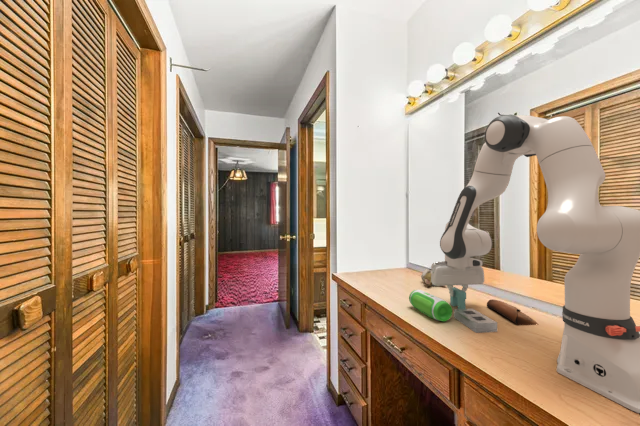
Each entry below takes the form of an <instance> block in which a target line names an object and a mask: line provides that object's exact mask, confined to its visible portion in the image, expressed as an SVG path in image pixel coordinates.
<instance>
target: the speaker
mask: <svg viewBox="0 0 640 426" xmlns="http://www.w3.org/2000/svg"><path fill="white" fill-rule="evenodd" d="M408 299H409V300H408V301H409V303H410V304H411V306H413V308H414V309H416V310H418V312H421V314H424V315H425V316H426V317H429V318H430V319H434V320H436V321H439V322H447V321H449V320H450V319H451V317H452V316H453V308H452V307H453V306H452V305H450V303H449V302H447V300H444V299H443V298H440V297H438V296H436V295H434V294H432V293H428V292H427V291H424V290H422V289H413V290H412V291H411V292H410V294H409V296H408Z"/></svg>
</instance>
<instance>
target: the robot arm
mask: <svg viewBox="0 0 640 426" xmlns="http://www.w3.org/2000/svg"><path fill="white" fill-rule="evenodd" d="M522 156H525V157H526V158H530V157H535V156H536V158H537V163H538V164H539V167H540V170H541V173H542V176H543V179H544V182H545V185H546V189H547V197H548V198H547V207H546V209H545V211H544V213H543V214H542V215H541V216H540V218H539V219H538V221H537V224H536V234H537V237H538V239H539V241H540V243H541V244H542V245H543V246H544V247H545V248H547V249H548V250H550V251H555V252H561V253H565V254H566V253H567V254H572V255H579V256H578V258H577V260H576V262H575V264H574V266H572V267H571V268H570V269H569V270H568V271H567V272H566V274H565V275H564V280H563V281H564V304H563V306H562V311H561V315H562V321H563V323H564V327H563V332H562V337H561V345H560V351H559V354H558V357H557V359H556V362H557V365H556V369H555V370H556V372H557V373H558V374H560V375H562V376H564V377H566V378H568V379H570V380H571V381H574V382H576V383H577V384H579V385H581V386H583V387H585V388H588V390H592V391H594V392H595V393H596V394H597V393H598V394H600V395H601V396H604V397H605V398H607V399H608V400H611V401H612V402H614V403H617V404H618V405H621V406H623V407H625V408H627V409H629V410H630V411H632V412H634V413H637V414H640V325H639V326H638V325H636V323H635V321H634V319H633V317H632V316H631V285H632V279H633V274H634V271H635V269H636V266H637V264H638V262H639V259H640V209H636V208H632V207H629V206H622V205H601V204H600V200H599V188H600V187H601V186H602V184H604V183H605V180H606V172H605V170H604V167H603V166H602V163H601V161H600V158H599V156H598V154H597V151H596V150H595V147H594V145H593V143H592V142H591V139H590V138H589V136H588V134H587V132H586V131H585V129H583V127H582V125H581V124H580V123H579V122H578V120H576V119H575V118H574V117H572V116H571V117H570V116H568V115H567V116H565V115H564V116H563V115H561V116H555V117H552V118H544V117H540V116H539V117H538V116H533V115H527V114H525V115H524V114H522V115H520V114H519V115H518V114H516V115H514V114H504V115H499V116H496V117H494V118H493V119H492V120H491V121H490V122H489V123H488V125H487V127H486V129H485V131H484V143H483V145H482V146H481V149H480V151H479V152H478V155H477V158H476V162H475V163H474V164H475V165H474V170H473V172H472V176H471V178H470V179H469V182H468V183H467V185H466V186H465V187H464V188H463V189H462V190H461V191H460V193H459V195H458V198H457V200H456V202H455V206H454V208H453V210H452V212H451V216H450V219H449V221H448V222H447V223H446V224H445V228H444V232H443V233H442V234H441V237H440V239H439V240H440V241H439V248H440V249H441V251H442V253H443V254H444V260H443V261H435V262H433V263H432V264H431V267H430V269H431V270H432V274H431V282H432V284H434V285H435V286H436V287H441V286H446V287H447V289H448V292H449V291H450V293H449V297H450V296H452V297H453V296H456V295H455V294H456V292H454V291H453V290H452V288H453V287H454V286H461V287H462V288H461V290H462V291H464V292H466V293H467V290H468V288H469V285H471V286H472V285H473V286H474V285H483V284H484V283H485V272H484V268H483V267H482V266H483V264H484V263H483V261H482V260H480V259H477V258H474V257H477V256H478V257H480V256H485V255H488V254H489V253H490V252H491V251H492V248H493V239H492V237H491V234H489V233H488V232H487V231H486V230H483V229H480V228H476V227H475V226H472V225H471V224H470V221H471V220H470V219H471V217H472V215H473V213H474V211H475V210H476V209H477V208H478V207H479V206H481V205H482V204H484V203H486V202H488V201H491V200H494V199H496V198H497V197H500V196H501V195H503V194H504V193H505V191H506V190H507V188H508V186H509V183H510V180H511V177H512V176H511V175H512V174H513V168H514V164H515V162H516V160H518V158H520V157H522Z"/></svg>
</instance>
